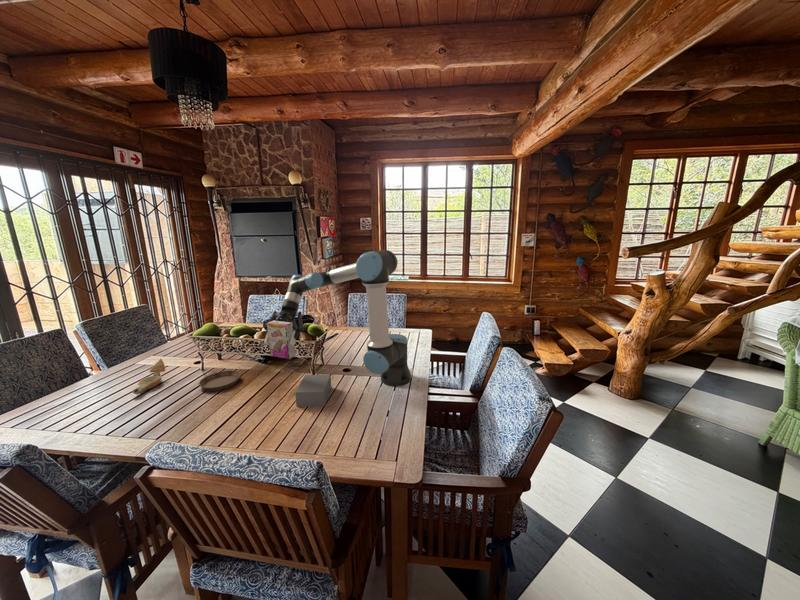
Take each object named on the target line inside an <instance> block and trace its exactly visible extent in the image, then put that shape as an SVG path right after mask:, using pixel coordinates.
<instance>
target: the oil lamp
mask: <svg viewBox="0 0 800 600" xmlns="http://www.w3.org/2000/svg"><path fill="white" fill-rule="evenodd" d="M165 371H166V366H165V363H164V361H163V359H162V358H160V359H159V360H158V361H157V362H156V363H154V364H153V366H152V367H151V368H150V370H149V373H153V375H151V376H147V377H143V378H142V379H140V380H139V381H138V383H137V385H138V386H137V387H136V388H134V389H132V390H131V392H132V394H134V395H139V394H141V393H143V392H144V391H147V390H149V389H152V388H156V387H157V386H158V385H159V384H160V382H161V381H162V376H161V373H163V372H165Z"/></svg>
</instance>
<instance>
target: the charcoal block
mask: <svg viewBox="0 0 800 600" xmlns="http://www.w3.org/2000/svg"><path fill="white" fill-rule="evenodd" d="M331 390H332V376H331V374H305V375H304V376H303V378H302V380H301V382H300V384H299V385H298V387H297V388H296V390H295V393H294V394H295V402H296V403H295V405H296V407H297V408H299V407H325V406H326V404H327V401H328V398H329V395H330V392H331Z"/></svg>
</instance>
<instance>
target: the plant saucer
mask: <svg viewBox="0 0 800 600" xmlns="http://www.w3.org/2000/svg"><path fill="white" fill-rule="evenodd" d="M240 377H241V373H240V372H239V371H236V370H223V371H218V372H214V373H211V374H208V375H206V376H205V377H203V378H202V379H201V380H199V382H198V385H199V386H200V387H201V388H202V389H203V390H206V391H209V392H210V391H211V392H213V391H214V392H215V390H216V391H220V390H225V389H228V388H229V387H232V386H233V385H235V384H236V383H237V382H238V380H239V379H240Z"/></svg>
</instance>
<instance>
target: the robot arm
mask: <svg viewBox="0 0 800 600" xmlns="http://www.w3.org/2000/svg"><path fill="white" fill-rule="evenodd" d="M397 268H398V258H397V256H396V254H395V253H393V252H392V251H390V250H388V249H381V250H374V251H373V250H372V251H367V252H364V253H362V254H360V256H359V257H358V258H357V260H356V262H354V263H350V264H347V265H343V266H339V267H336V268H333V269H330V270H325V271H321V272H320V271H319V272H317V271H316V272H311V273H308V274H305V275H302V274H293V275H292V276H291V278H290V280H289V283H288V287H287V290H286V293H285V296H284V299H283V302H282V305H281V309H280V311H277V310H274V311H273V314H272V315H271V316H270V318H269V319H268V320H267V322H266V323H265V324H264V325H263V329H264V330H265V333H264V337H265V338H264V341H263V343H264V344H265V345H266V346H269V340H268V332H267V323H268V322H271V321H273V320H274V321H282V322H290V323H293V329H294V330H293V334H292V337H291V341H290V344H291V345H292V346H294V343H296V342H295V341H296V340H297V339H298V338H299V335H300V333H301V332H302V333H304V331H305V329H304V323H303V312H301V311H299V312H298V310H299V307H300V304H301V301H302V297H303V295H304V294H303V293H306V292H309V291H312V290H315V289H319V288H323V287H327V286H332V285H335V284H340V283H343V282H347V281H352V280H355V279H361V284H362V285H363V286H364V287H365V289H366V290H365V291H366V304H367V315H368V316H367V317H368V330H369V340H368V341H367V342H366V349H367V351H366V352H365V354H364V355H363V358H362V361H363V364H364V367H365V368H366V369H367V370H368V371H369V372H370V373H372V374H373V375H374V374H375V375H380V381H381V383H382V384H385V385H387V386H390V387H399V386H400V387H401V386H406V385H407V384H409V383H410V382H411V379H412V376H411V375H412V374H411V371H410V368H409V365H408V343H409V342H408V338H407V336H405V335H403V334H399V333H390V331H389V319H388V317H389V316H388V315H389V314H388V301H387V299H388V298H387V285H389V283H390V280H389V279H390V275H392V274H394V272H395V271H396V270H397ZM296 317H297V321H298V323H297V322H296V320H295V318H296Z"/></svg>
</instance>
